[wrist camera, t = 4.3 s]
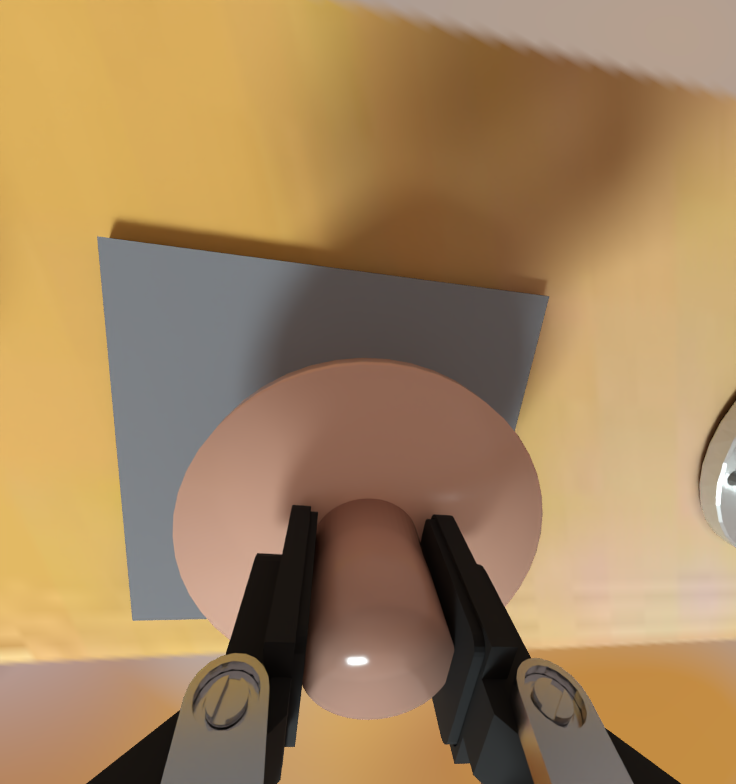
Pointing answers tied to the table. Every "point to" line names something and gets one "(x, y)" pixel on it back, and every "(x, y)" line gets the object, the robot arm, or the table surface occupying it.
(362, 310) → the mat
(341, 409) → the lid
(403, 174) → the table surface
